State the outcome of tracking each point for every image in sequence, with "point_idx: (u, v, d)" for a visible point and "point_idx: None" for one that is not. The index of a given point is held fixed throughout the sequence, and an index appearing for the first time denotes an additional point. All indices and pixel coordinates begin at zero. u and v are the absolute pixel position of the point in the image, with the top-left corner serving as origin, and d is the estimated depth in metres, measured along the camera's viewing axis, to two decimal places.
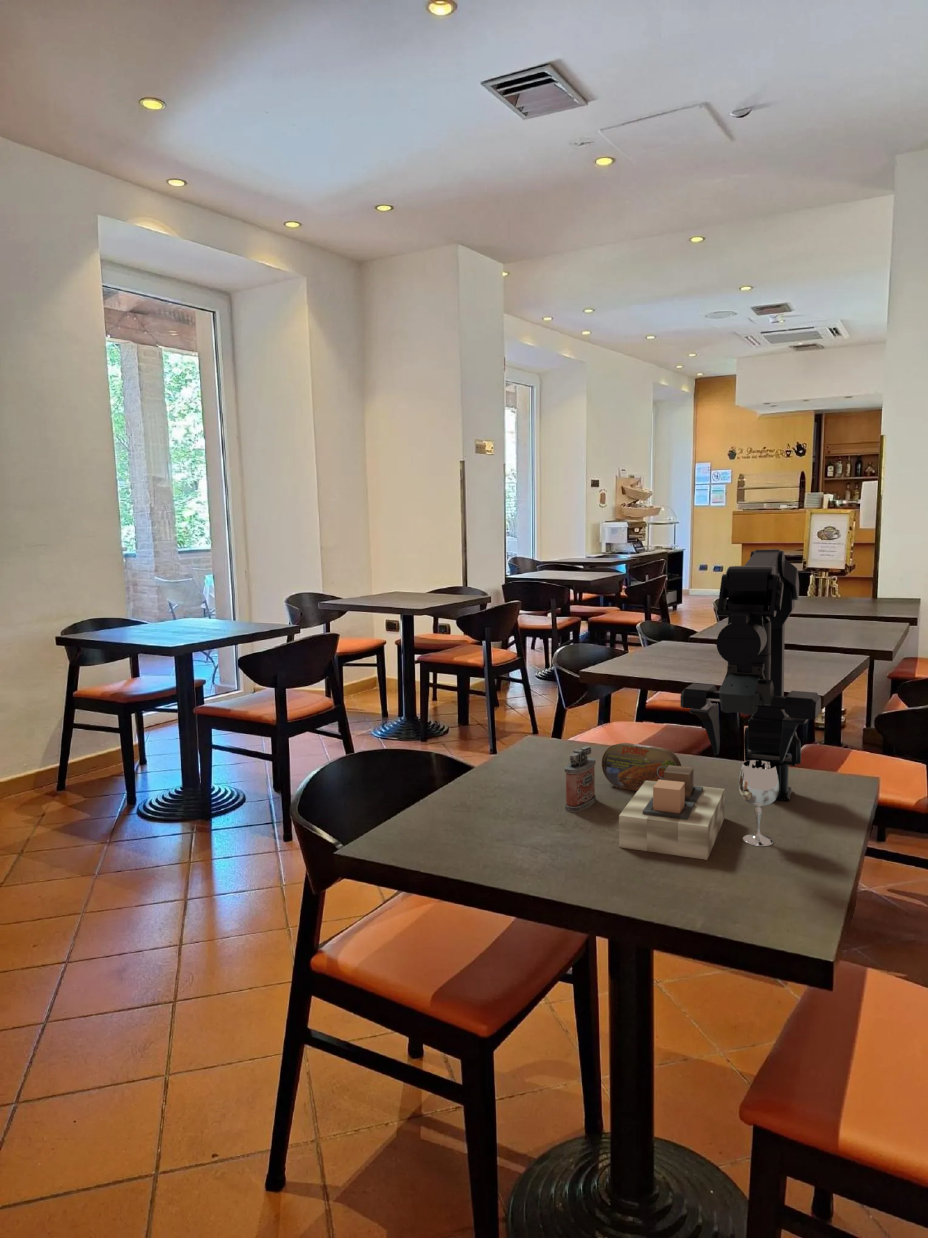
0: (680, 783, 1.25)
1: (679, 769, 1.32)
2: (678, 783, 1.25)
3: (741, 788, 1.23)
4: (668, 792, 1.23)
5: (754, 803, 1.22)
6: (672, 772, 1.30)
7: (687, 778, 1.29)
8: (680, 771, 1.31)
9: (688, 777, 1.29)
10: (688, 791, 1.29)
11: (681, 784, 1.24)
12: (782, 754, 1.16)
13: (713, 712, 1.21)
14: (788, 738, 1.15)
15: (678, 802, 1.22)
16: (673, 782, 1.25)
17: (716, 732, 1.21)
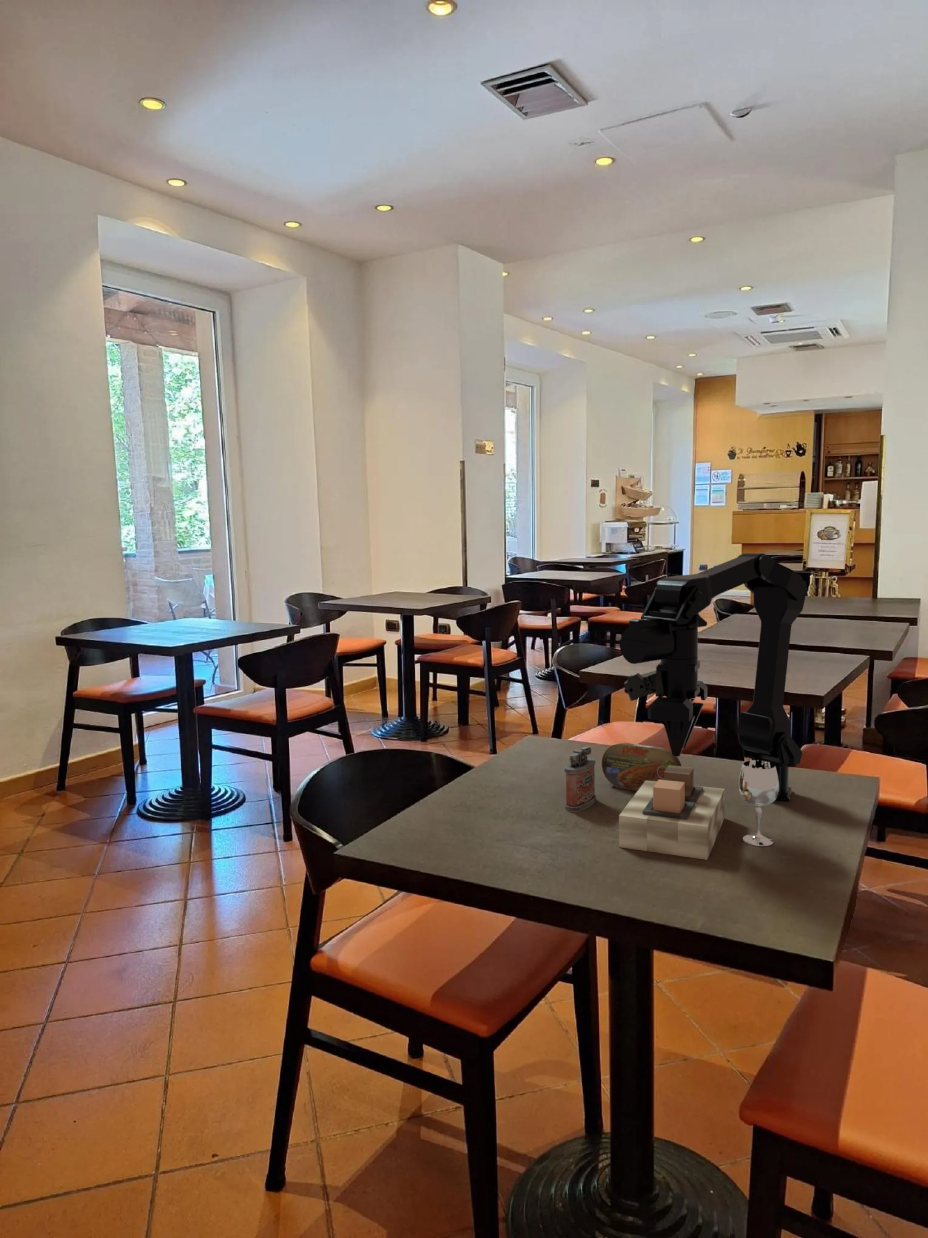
0: (680, 783, 1.25)
1: (679, 769, 1.32)
2: (678, 783, 1.25)
3: (741, 788, 1.23)
4: (668, 792, 1.23)
5: (754, 803, 1.22)
6: (672, 772, 1.30)
7: (687, 778, 1.29)
8: (680, 771, 1.31)
9: (688, 777, 1.29)
10: (688, 791, 1.29)
11: (681, 784, 1.24)
12: (670, 747, 1.29)
13: None
14: None
15: (678, 802, 1.22)
16: (673, 782, 1.25)
17: None
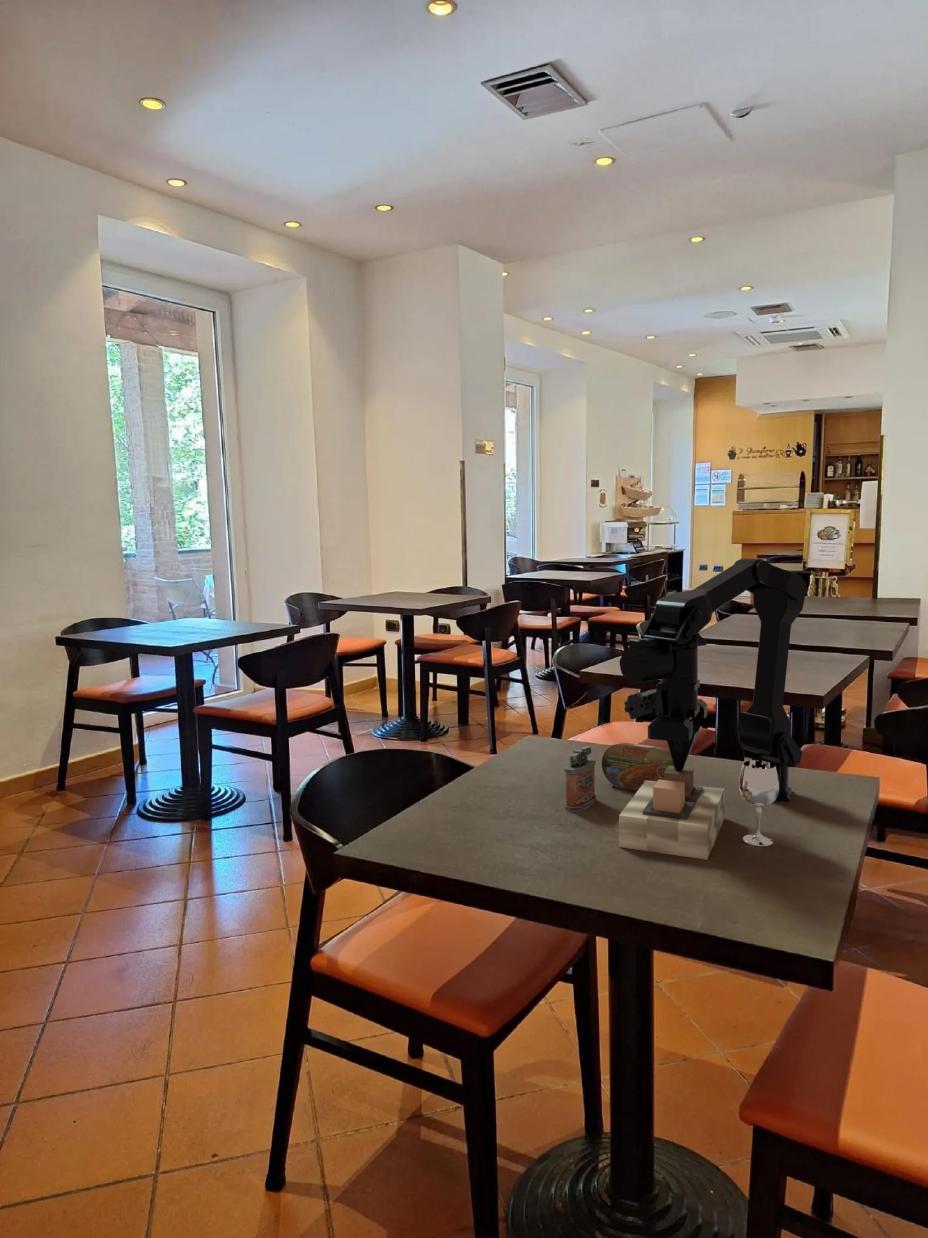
0: (680, 783, 1.25)
1: None
2: (678, 783, 1.25)
3: (741, 788, 1.23)
4: (668, 792, 1.23)
5: (754, 803, 1.22)
6: (672, 772, 1.30)
7: (687, 779, 1.29)
8: (680, 772, 1.31)
9: (688, 777, 1.29)
10: (688, 791, 1.29)
11: (681, 784, 1.24)
12: None
13: None
14: None
15: (678, 802, 1.22)
16: (673, 782, 1.25)
17: None
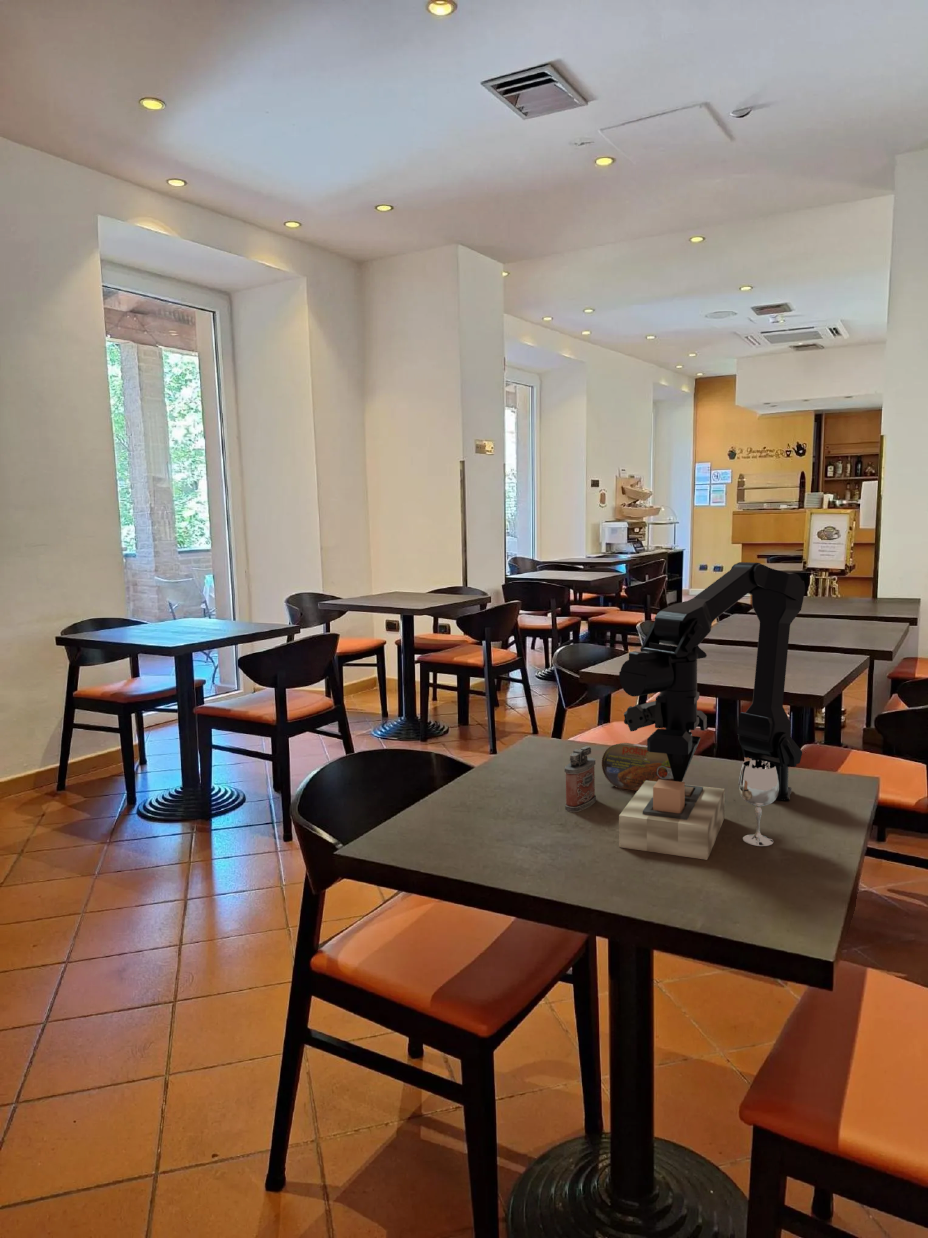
0: (680, 783, 1.25)
1: None
2: (678, 783, 1.25)
3: (741, 788, 1.23)
4: (668, 792, 1.23)
5: (754, 803, 1.22)
6: None
7: None
8: None
9: None
10: None
11: (681, 784, 1.24)
12: (672, 774, 1.31)
13: None
14: (669, 760, 1.31)
15: (678, 802, 1.22)
16: (673, 782, 1.25)
17: None
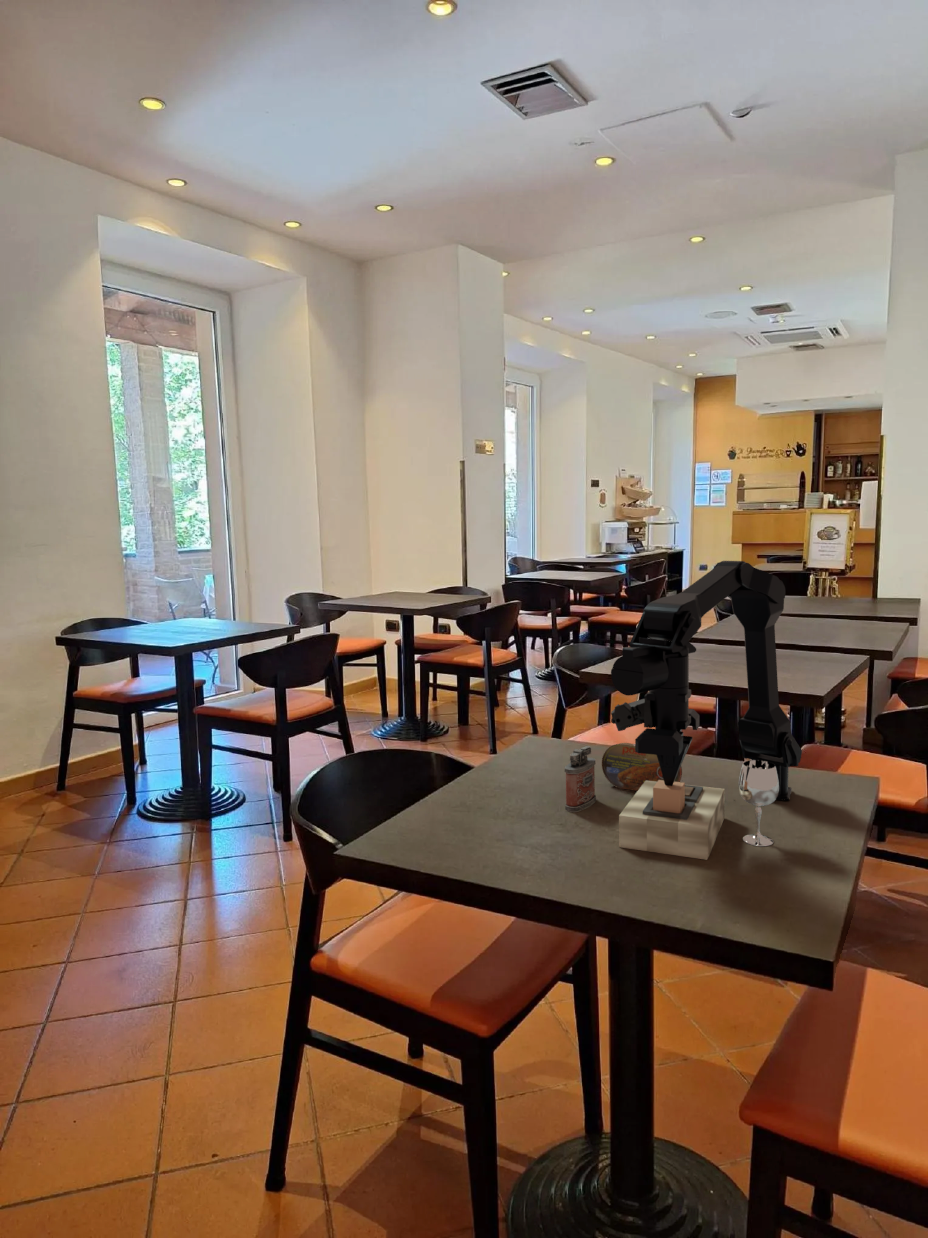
0: (680, 783, 1.25)
1: None
2: (678, 783, 1.25)
3: (741, 788, 1.23)
4: (668, 792, 1.23)
5: (754, 803, 1.22)
6: None
7: None
8: None
9: None
10: None
11: (681, 784, 1.24)
12: (663, 777, 1.24)
13: None
14: (659, 761, 1.23)
15: (678, 802, 1.22)
16: None
17: None
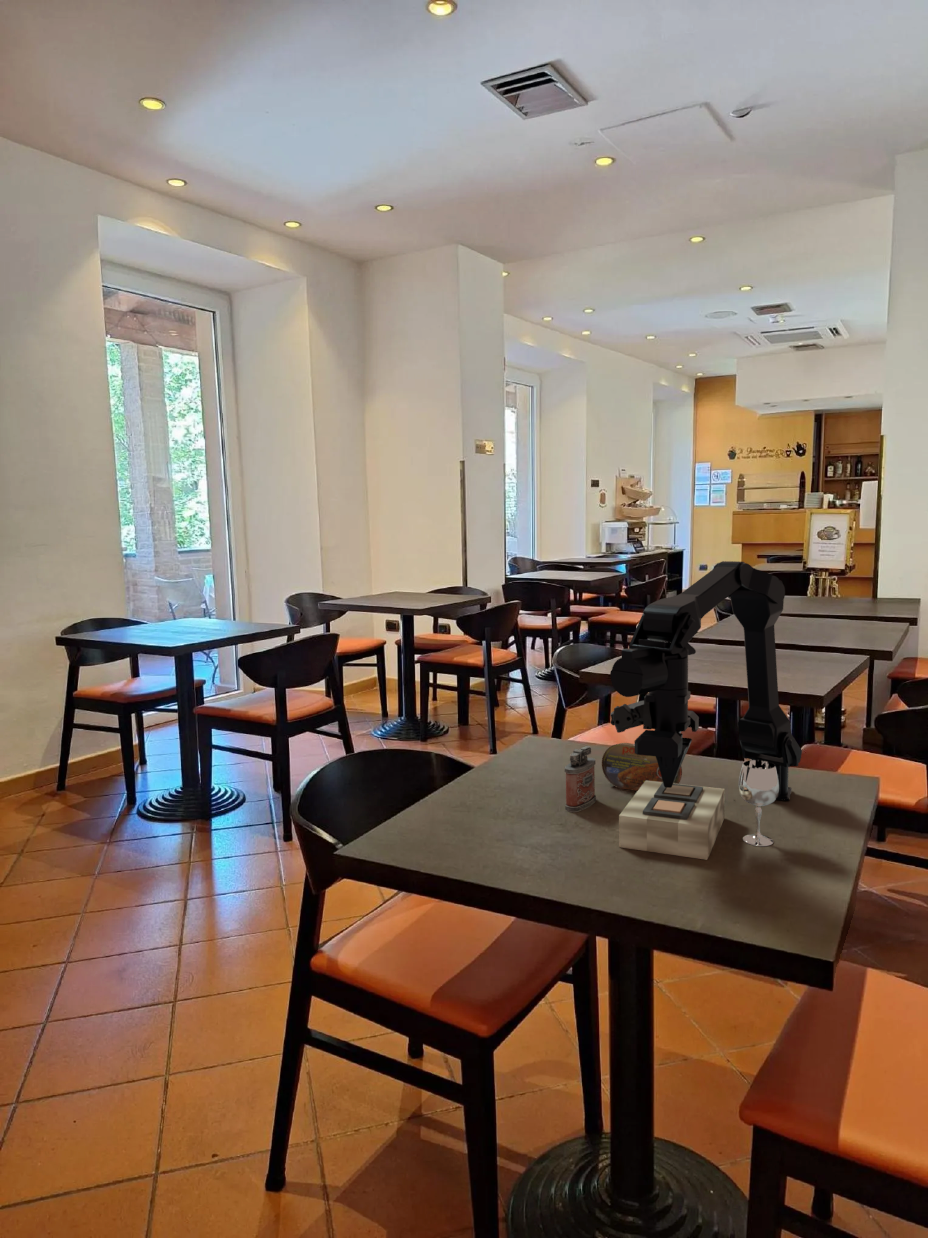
0: (680, 804, 1.25)
1: (679, 789, 1.32)
2: (678, 804, 1.25)
3: (741, 788, 1.23)
4: None
5: (754, 803, 1.22)
6: (672, 792, 1.31)
7: None
8: (680, 791, 1.31)
9: None
10: None
11: (681, 805, 1.25)
12: None
13: None
14: (658, 763, 1.23)
15: None
16: (673, 803, 1.26)
17: None
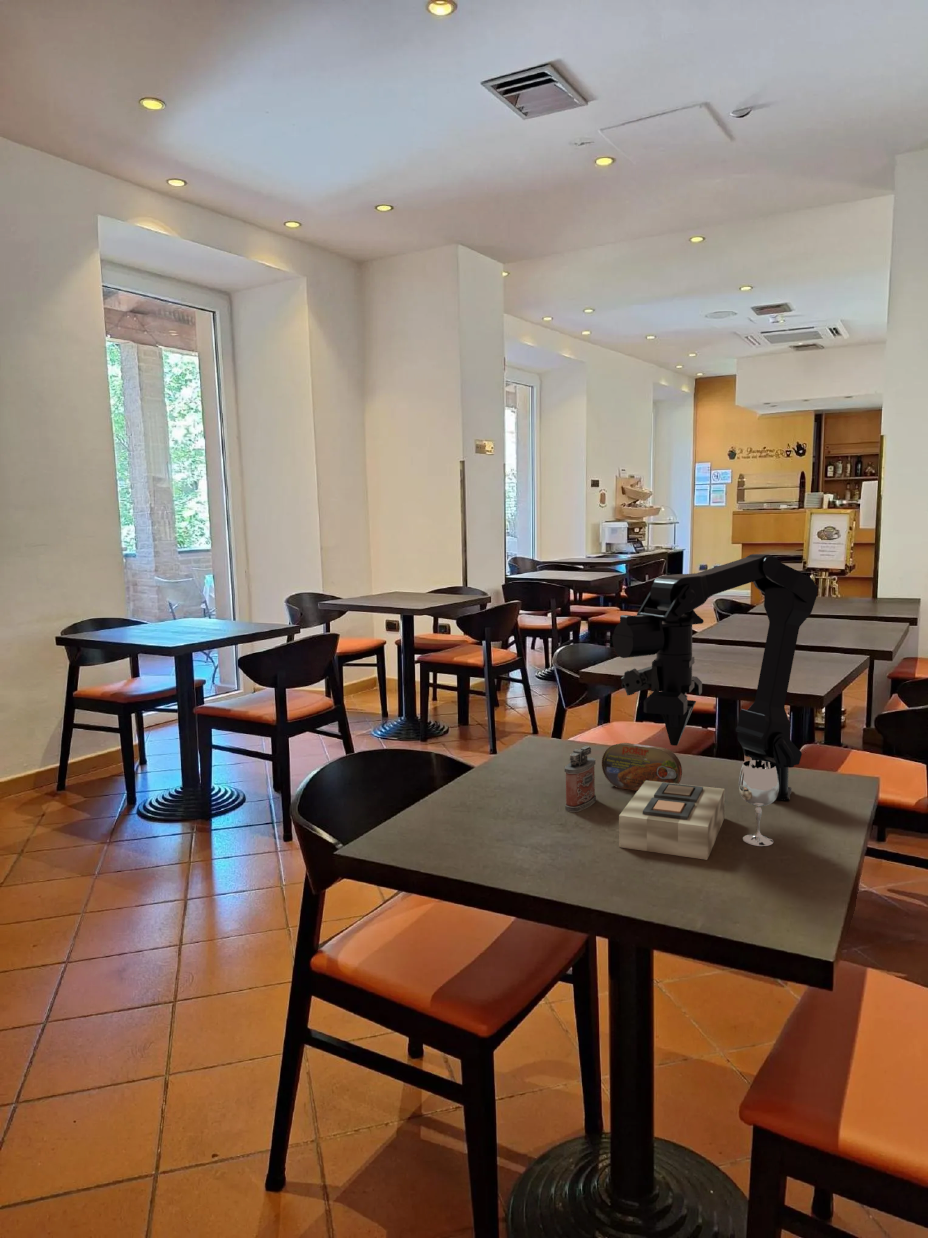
0: (680, 804, 1.25)
1: (679, 789, 1.32)
2: (678, 804, 1.25)
3: (741, 788, 1.23)
4: None
5: (754, 803, 1.22)
6: (672, 792, 1.31)
7: None
8: (680, 791, 1.31)
9: None
10: None
11: (681, 805, 1.25)
12: (669, 737, 1.35)
13: None
14: (665, 723, 1.34)
15: None
16: (673, 803, 1.26)
17: None
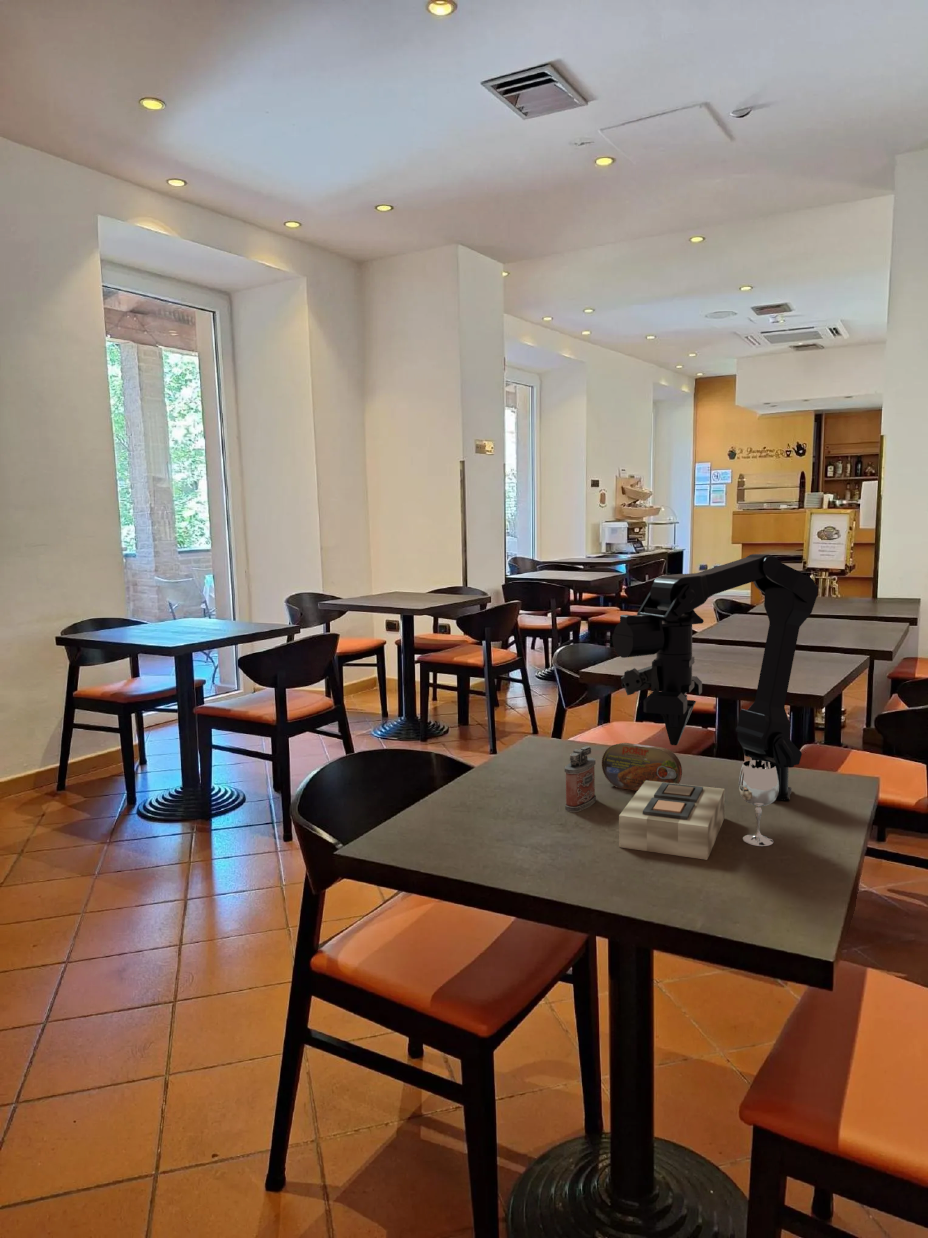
0: (680, 804, 1.25)
1: (679, 789, 1.32)
2: (678, 804, 1.25)
3: (741, 788, 1.23)
4: None
5: (754, 803, 1.22)
6: (672, 792, 1.31)
7: None
8: (680, 791, 1.31)
9: None
10: None
11: (681, 805, 1.25)
12: None
13: None
14: (665, 723, 1.34)
15: None
16: (673, 803, 1.26)
17: None
